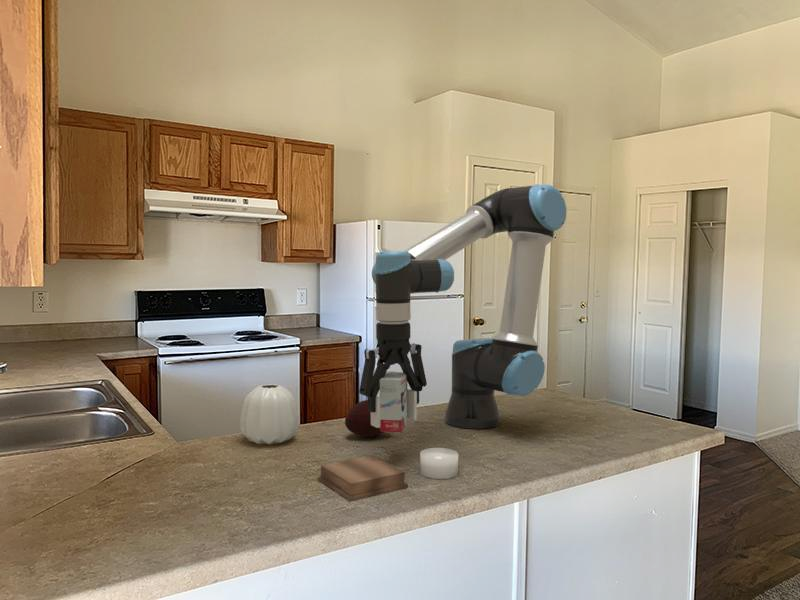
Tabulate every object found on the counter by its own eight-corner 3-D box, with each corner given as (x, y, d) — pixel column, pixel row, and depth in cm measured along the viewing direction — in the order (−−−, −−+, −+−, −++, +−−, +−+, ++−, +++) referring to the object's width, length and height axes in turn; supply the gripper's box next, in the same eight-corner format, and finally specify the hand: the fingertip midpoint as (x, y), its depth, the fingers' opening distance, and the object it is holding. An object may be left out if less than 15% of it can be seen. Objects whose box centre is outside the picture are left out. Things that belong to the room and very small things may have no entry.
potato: (396, 439, 152) (396, 402, 152) (349, 443, 148) (349, 405, 148) (384, 430, 161) (385, 395, 160) (340, 434, 156) (340, 398, 156)
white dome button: (441, 463, 135) (442, 445, 135) (465, 474, 128) (466, 455, 128) (412, 470, 130) (412, 451, 130) (435, 481, 124) (436, 462, 123)
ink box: (401, 433, 132) (400, 379, 131) (378, 432, 133) (378, 378, 132) (408, 422, 140) (408, 371, 139) (387, 421, 141) (387, 370, 140)
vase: (293, 430, 159) (293, 379, 158) (302, 446, 146) (302, 390, 145) (238, 434, 154) (238, 381, 154) (242, 451, 141) (242, 393, 140)
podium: (372, 468, 131) (372, 454, 131) (407, 487, 120) (408, 472, 120) (317, 479, 124) (317, 465, 123) (350, 501, 113) (350, 485, 113)
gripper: (422, 316, 144) (423, 411, 146) (341, 323, 132) (342, 426, 134) (443, 319, 138) (443, 418, 140) (359, 327, 126) (360, 435, 127)
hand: (394, 422), depth 137 cm, fingers closed on ink box, 9 cm apart
